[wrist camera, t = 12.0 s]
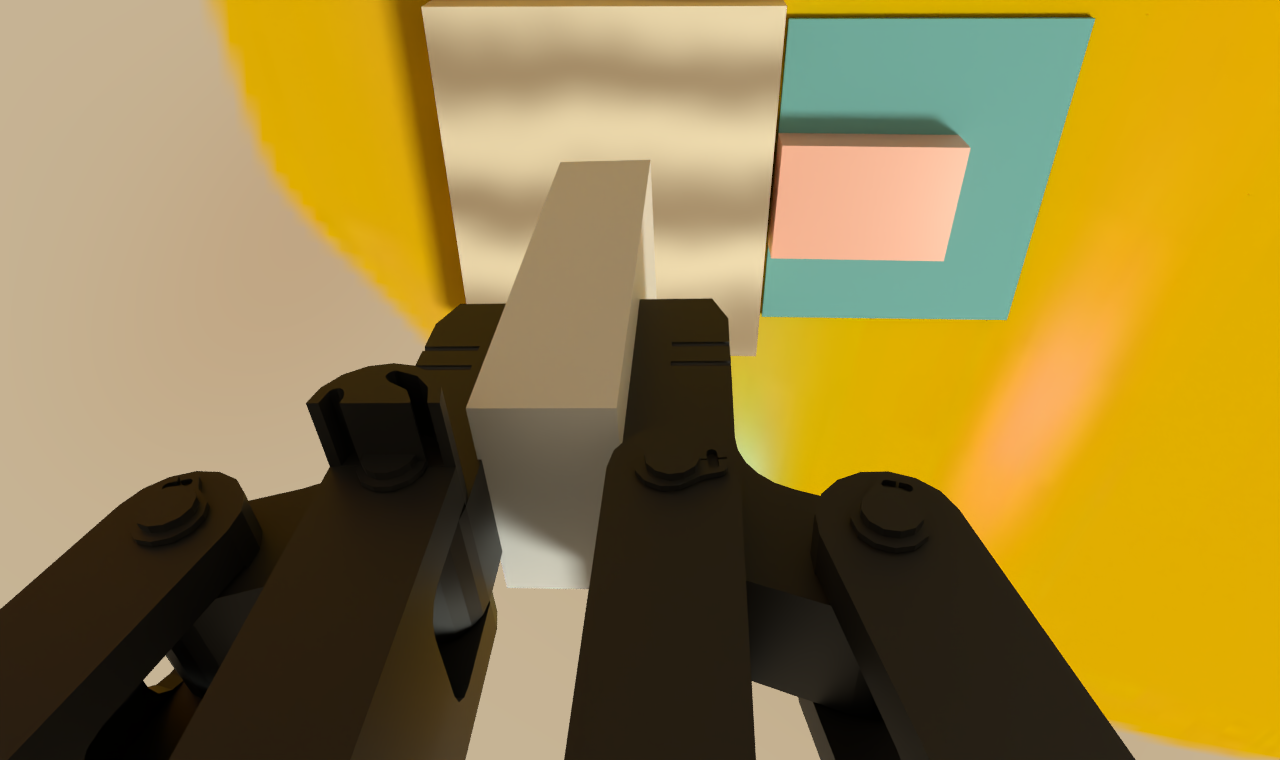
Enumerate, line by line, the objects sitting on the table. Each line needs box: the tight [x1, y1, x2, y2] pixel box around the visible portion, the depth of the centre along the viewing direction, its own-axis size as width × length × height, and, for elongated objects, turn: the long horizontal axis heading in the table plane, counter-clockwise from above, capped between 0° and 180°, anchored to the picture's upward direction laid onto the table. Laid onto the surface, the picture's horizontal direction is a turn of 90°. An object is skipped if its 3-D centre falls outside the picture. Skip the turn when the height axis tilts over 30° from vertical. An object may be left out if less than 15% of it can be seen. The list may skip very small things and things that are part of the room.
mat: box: [762, 17, 1095, 320], centre depth 41 cm, size 16×14×1 cm
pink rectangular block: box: [768, 133, 971, 261], centre depth 41 cm, size 9×6×2 cm, turn 90°
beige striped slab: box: [421, 0, 787, 356], centre depth 41 cm, size 18×16×3 cm
